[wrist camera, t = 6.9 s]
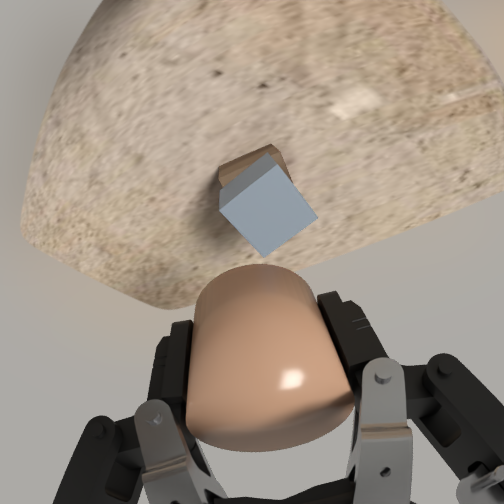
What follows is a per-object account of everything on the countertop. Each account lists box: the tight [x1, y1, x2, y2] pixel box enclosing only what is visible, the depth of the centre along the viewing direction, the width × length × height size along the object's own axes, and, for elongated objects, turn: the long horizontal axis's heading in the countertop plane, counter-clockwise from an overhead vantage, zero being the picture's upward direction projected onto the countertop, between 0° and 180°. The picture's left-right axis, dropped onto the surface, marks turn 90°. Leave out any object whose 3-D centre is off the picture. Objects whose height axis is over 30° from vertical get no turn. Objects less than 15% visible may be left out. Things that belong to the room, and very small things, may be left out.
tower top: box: [219, 152, 318, 258], centre depth 24 cm, size 6×6×5 cm
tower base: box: [218, 144, 293, 187], centre depth 28 cm, size 6×6×5 cm
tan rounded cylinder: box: [186, 264, 355, 452], centre depth 9 cm, size 5×5×5 cm
